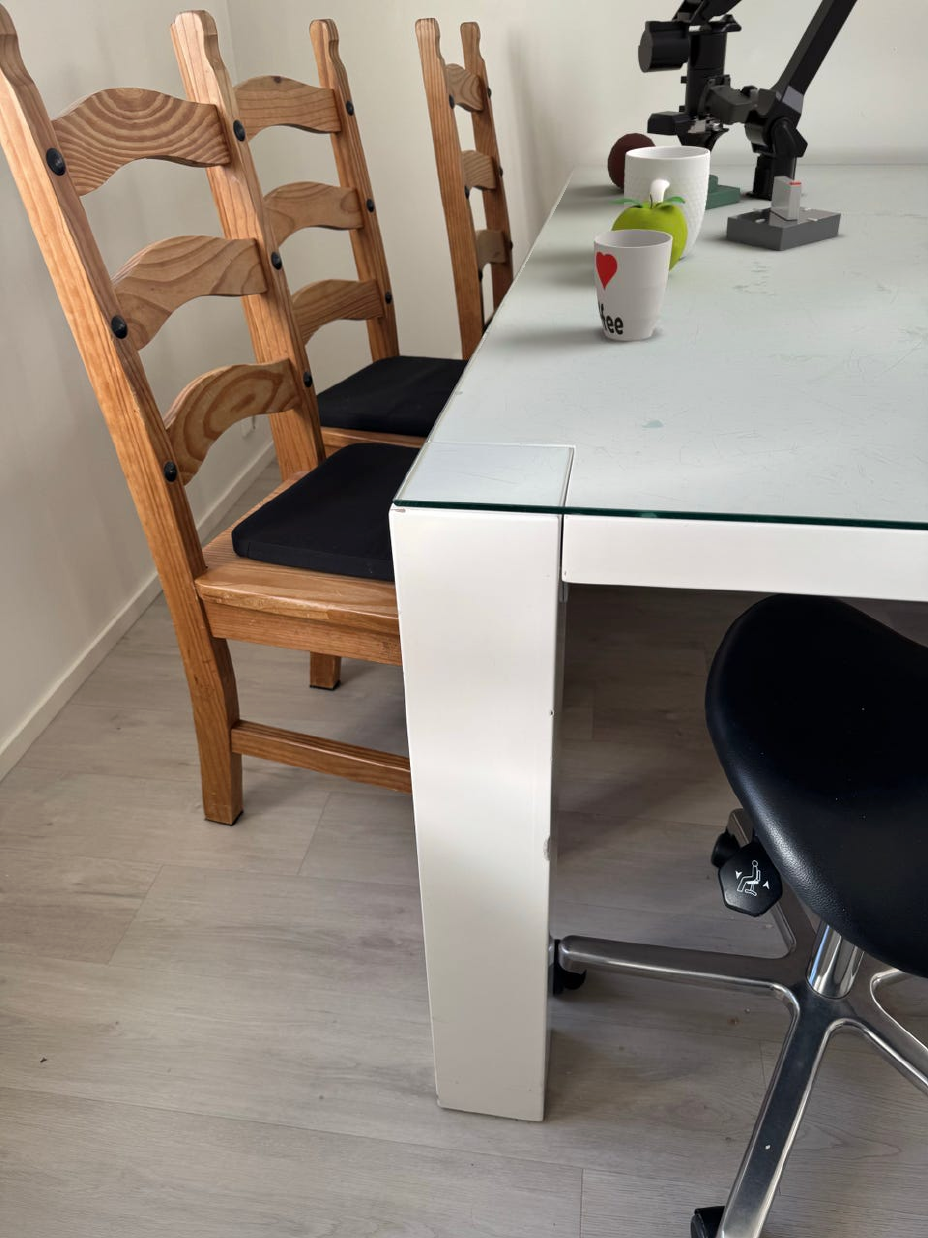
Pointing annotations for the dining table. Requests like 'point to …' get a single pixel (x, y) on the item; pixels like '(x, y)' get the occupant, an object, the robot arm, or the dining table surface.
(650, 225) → the fruit
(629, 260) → the cup
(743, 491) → the dining table surface
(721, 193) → the tap control
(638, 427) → the dining table surface
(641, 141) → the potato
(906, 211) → the dining table surface
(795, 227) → the base
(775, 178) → the red-tipped white block
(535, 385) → the dining table surface
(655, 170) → the mug
